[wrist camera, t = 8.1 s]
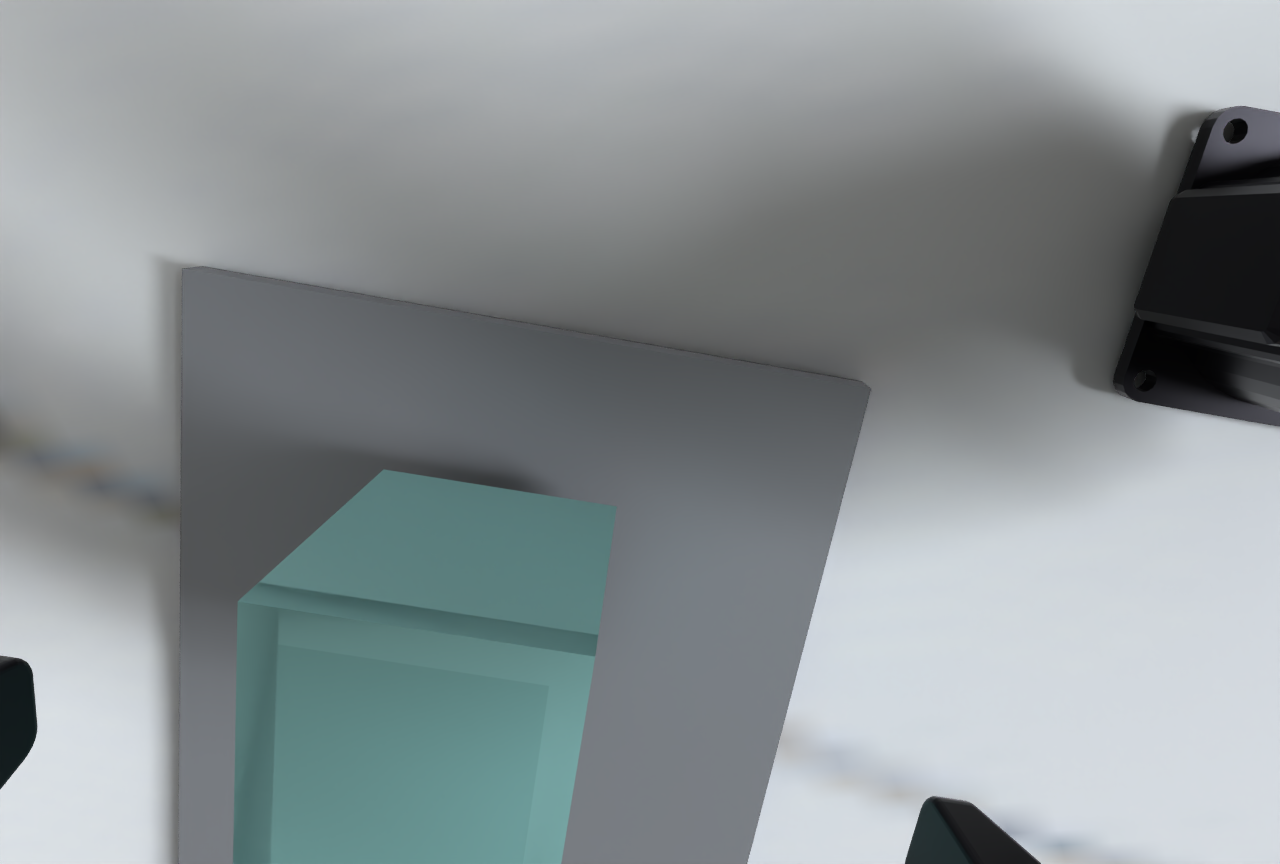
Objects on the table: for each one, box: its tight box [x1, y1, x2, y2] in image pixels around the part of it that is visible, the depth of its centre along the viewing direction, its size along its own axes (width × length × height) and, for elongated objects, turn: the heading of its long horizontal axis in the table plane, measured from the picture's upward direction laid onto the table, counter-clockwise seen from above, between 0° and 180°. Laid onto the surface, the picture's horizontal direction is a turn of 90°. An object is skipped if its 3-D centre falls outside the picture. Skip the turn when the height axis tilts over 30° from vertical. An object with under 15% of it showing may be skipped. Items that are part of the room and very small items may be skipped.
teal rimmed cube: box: [233, 470, 617, 864], centre depth 14 cm, size 5×5×6 cm
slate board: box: [178, 267, 871, 864], centre depth 21 cm, size 16×26×1 cm, turn 170°
